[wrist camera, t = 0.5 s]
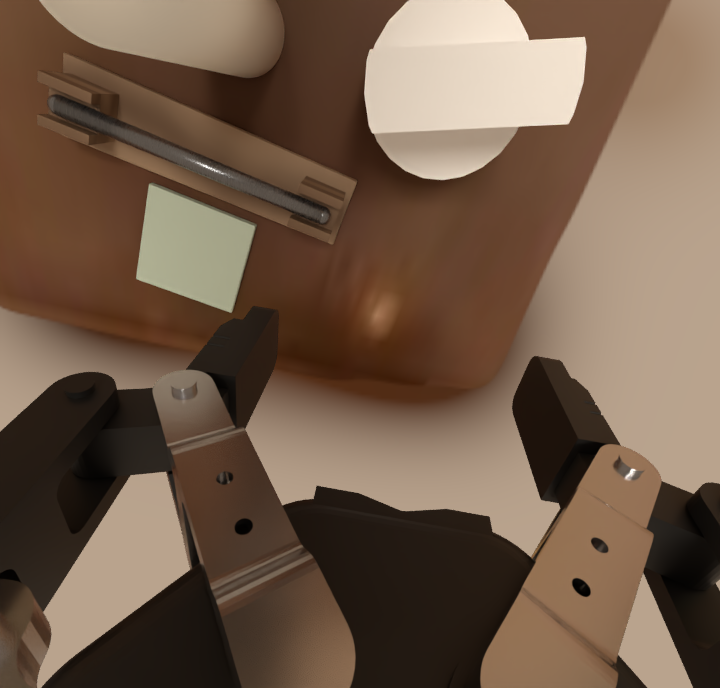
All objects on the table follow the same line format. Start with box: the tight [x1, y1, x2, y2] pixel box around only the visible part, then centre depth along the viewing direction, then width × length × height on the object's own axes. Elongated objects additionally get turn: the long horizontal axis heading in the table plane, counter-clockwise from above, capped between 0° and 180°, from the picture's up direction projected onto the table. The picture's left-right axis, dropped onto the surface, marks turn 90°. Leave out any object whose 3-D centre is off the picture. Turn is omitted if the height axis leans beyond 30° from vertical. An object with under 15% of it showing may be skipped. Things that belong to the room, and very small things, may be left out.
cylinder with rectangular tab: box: [364, 0, 586, 180], centre depth 22 cm, size 9×9×12 cm
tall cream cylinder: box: [39, 0, 285, 78], centre depth 19 cm, size 5×5×16 cm
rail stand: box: [37, 52, 357, 245], centre depth 28 cm, size 5×20×4 cm, turn 68°
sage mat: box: [136, 183, 257, 313], centre depth 33 cm, size 8×8×1 cm
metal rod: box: [47, 94, 331, 224], centre depth 26 cm, size 1×18×1 cm, turn 68°
